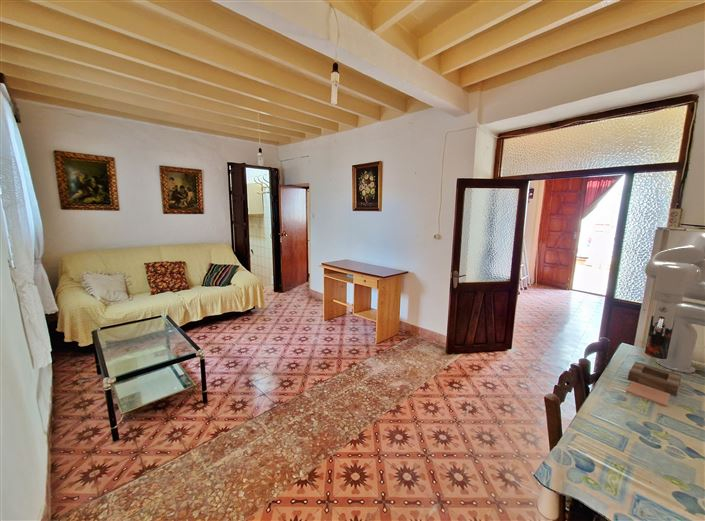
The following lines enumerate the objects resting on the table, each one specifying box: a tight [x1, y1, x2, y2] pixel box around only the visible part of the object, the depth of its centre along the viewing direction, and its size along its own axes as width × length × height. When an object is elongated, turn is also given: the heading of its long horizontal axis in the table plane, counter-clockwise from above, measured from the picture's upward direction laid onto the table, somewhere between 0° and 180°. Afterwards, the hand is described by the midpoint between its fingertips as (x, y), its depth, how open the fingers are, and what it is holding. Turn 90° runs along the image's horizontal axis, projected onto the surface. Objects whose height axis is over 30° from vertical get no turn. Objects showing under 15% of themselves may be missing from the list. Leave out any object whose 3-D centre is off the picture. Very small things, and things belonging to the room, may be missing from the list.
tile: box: [626, 381, 671, 408], centre depth 114 cm, size 11×11×1 cm
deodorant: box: [644, 315, 675, 359], centre depth 110 cm, size 6×6×15 cm
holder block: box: [627, 361, 682, 397], centre depth 122 cm, size 14×14×4 cm
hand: (658, 342), depth 110 cm, fingers closed on deodorant, 6 cm apart
